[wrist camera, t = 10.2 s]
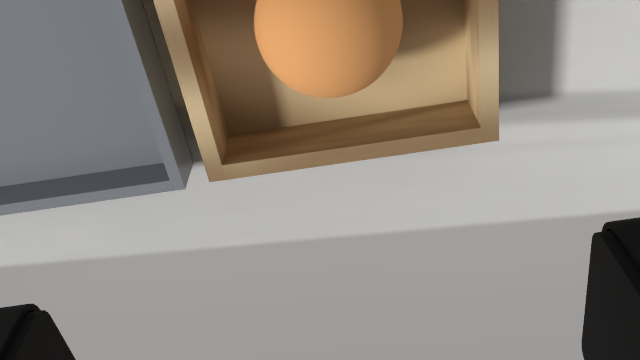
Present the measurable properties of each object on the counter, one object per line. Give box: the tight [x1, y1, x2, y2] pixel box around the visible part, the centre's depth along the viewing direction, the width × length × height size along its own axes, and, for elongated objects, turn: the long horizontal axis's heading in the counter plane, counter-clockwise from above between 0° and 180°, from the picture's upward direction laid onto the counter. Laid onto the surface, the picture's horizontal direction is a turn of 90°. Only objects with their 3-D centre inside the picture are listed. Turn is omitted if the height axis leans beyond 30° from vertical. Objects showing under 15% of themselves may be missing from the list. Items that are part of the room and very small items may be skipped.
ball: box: [254, 0, 403, 98], centre depth 25 cm, size 6×6×6 cm
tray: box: [153, 0, 499, 182], centre depth 26 cm, size 14×14×4 cm
